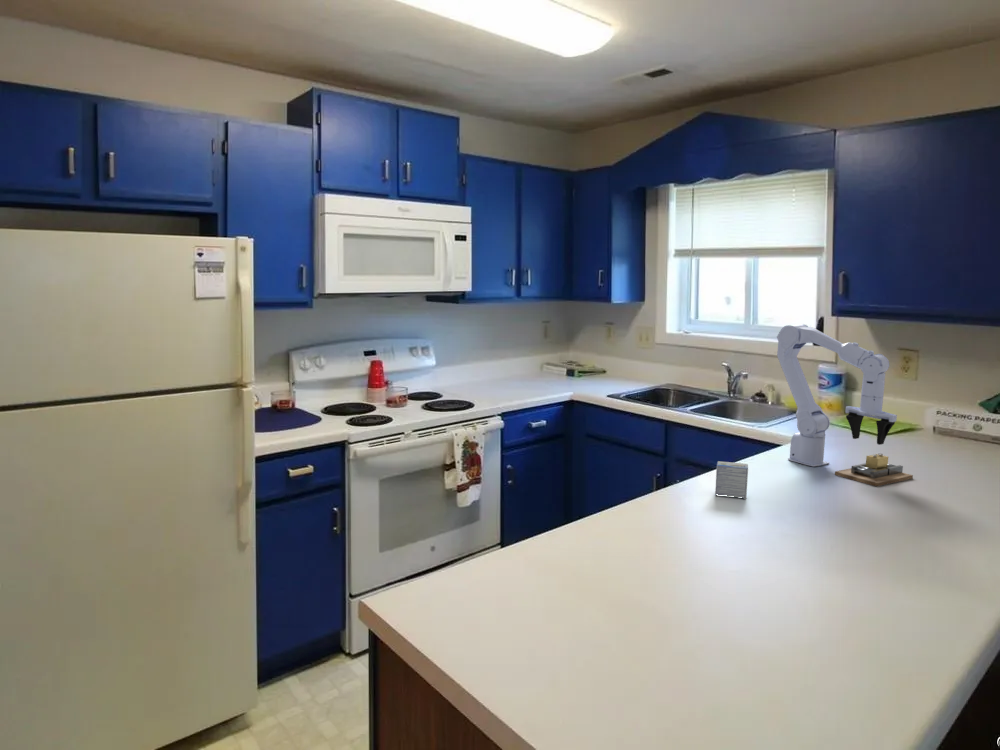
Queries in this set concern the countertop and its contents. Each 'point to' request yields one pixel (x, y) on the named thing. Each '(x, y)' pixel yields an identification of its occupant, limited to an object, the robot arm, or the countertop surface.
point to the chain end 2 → (894, 469)
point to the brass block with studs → (877, 461)
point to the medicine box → (731, 479)
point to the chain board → (876, 481)
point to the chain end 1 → (869, 471)
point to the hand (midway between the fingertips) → (867, 441)
